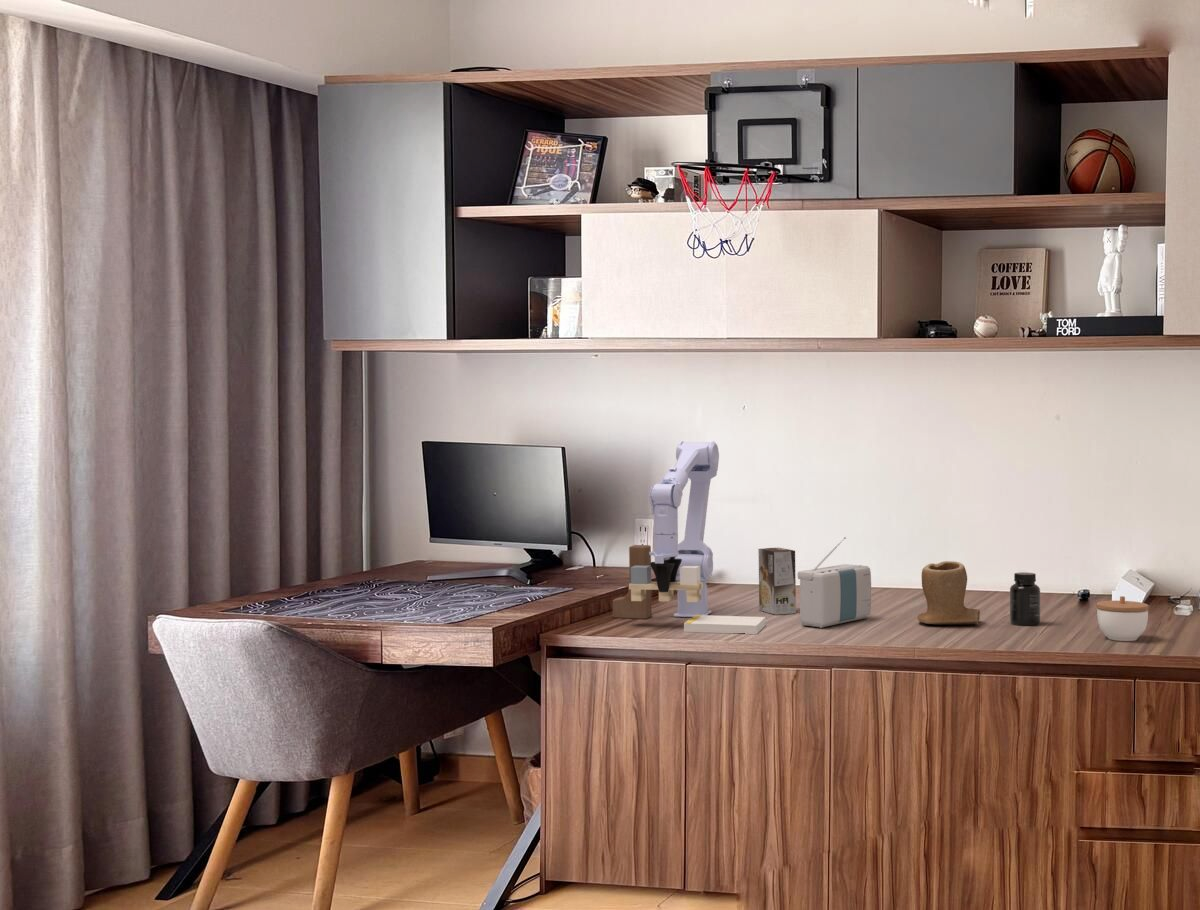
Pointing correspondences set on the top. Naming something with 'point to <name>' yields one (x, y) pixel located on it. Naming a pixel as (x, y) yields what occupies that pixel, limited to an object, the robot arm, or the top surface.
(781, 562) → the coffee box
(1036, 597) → the supplement bottle
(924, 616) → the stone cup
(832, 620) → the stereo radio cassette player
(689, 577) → the greyish beige cube
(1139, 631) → the lidded jar
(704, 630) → the dock
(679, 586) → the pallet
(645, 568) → the pale grey square box
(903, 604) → the top surface
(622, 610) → the wooden block
